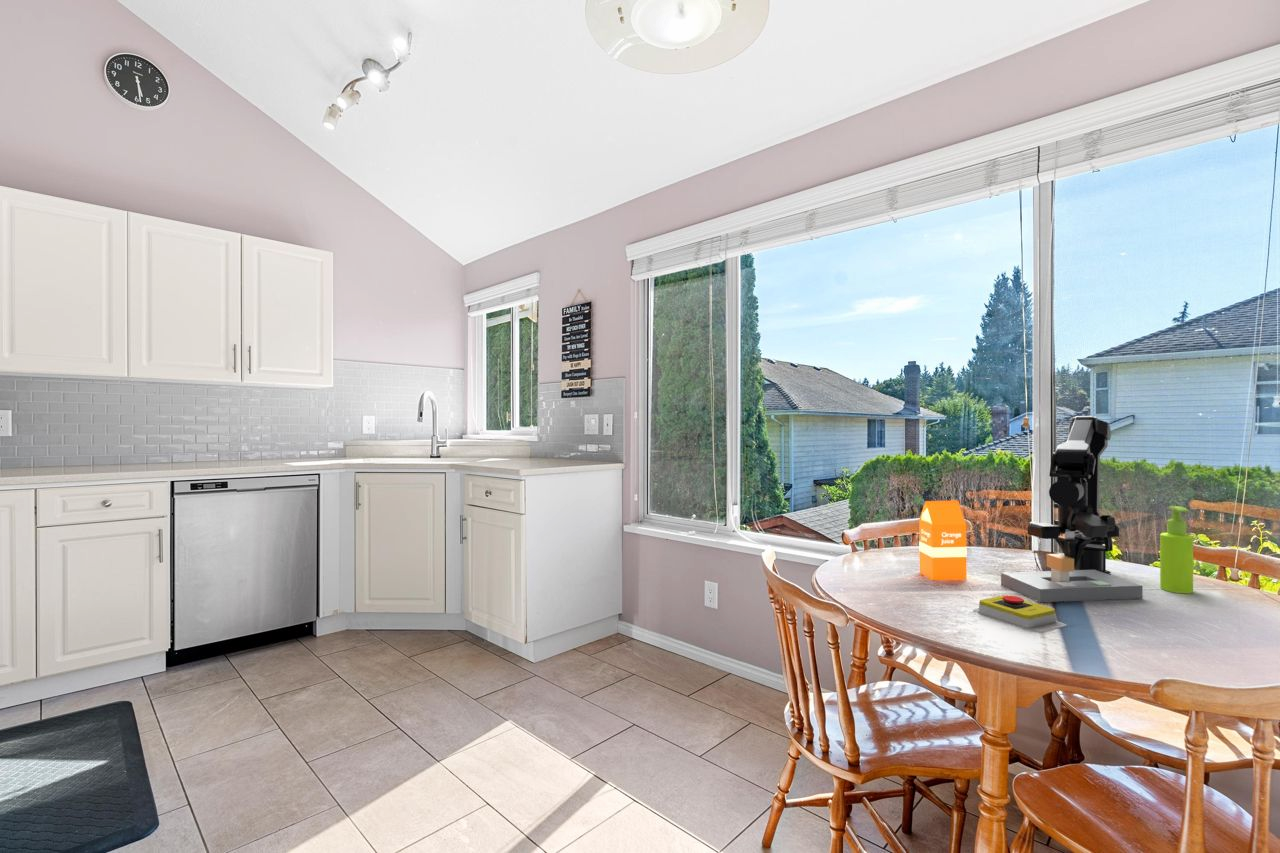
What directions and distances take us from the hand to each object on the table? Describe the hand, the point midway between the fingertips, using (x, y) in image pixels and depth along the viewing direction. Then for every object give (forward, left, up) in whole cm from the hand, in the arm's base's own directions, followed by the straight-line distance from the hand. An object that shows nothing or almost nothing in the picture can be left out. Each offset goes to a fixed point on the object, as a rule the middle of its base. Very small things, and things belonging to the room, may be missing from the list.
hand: (1072, 565), depth 145 cm
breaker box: (+1, 0, -6) cm, 6 cm away
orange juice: (+23, -16, -6) cm, 29 cm away
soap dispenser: (-24, +2, -6) cm, 25 cm away
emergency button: (+24, +16, -7) cm, 30 cm away
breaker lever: (+3, 0, -5) cm, 6 cm away
